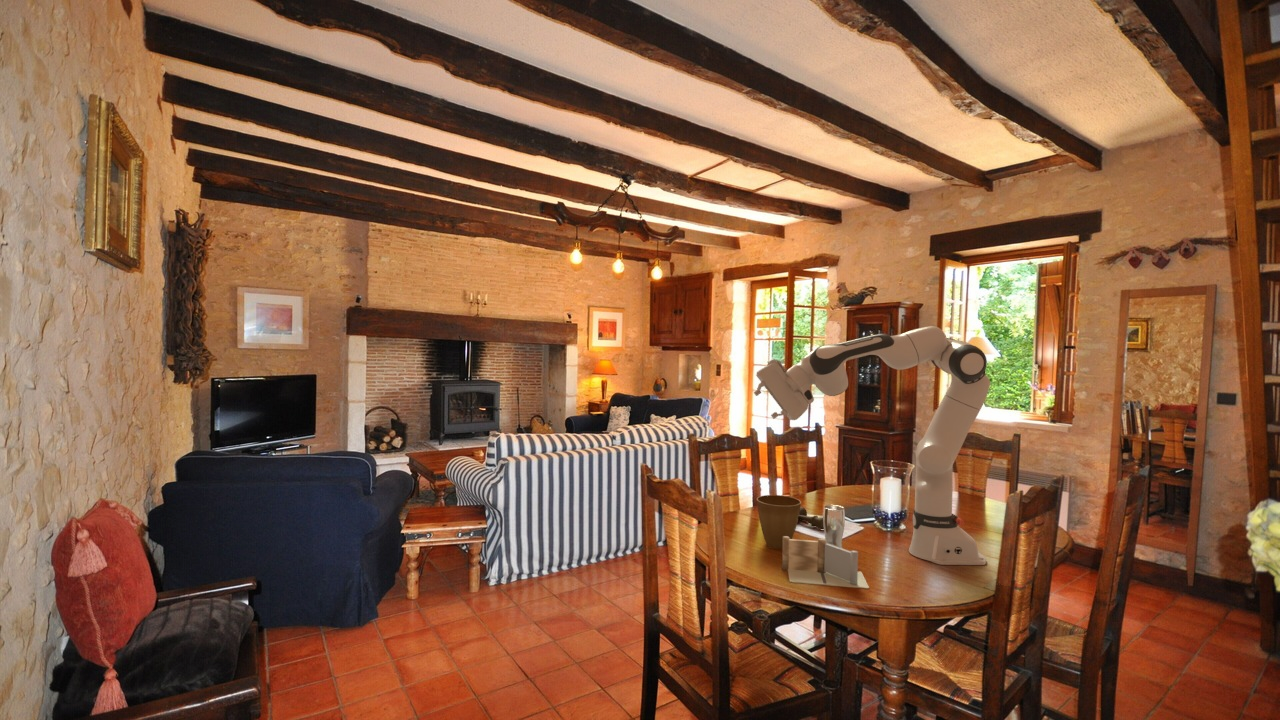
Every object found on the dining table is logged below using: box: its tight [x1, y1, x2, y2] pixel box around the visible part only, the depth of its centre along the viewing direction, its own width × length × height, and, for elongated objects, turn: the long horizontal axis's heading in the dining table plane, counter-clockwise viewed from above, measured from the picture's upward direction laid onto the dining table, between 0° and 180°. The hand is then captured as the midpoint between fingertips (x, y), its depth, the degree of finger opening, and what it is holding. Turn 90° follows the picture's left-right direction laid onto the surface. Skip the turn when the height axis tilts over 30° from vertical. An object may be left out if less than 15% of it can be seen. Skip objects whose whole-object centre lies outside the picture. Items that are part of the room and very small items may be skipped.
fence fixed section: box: [781, 536, 826, 572], centre depth 180 cm, size 13×2×10 cm, turn 79°
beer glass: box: [822, 504, 846, 549], centre depth 196 cm, size 7×7×15 cm
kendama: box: [798, 506, 824, 530], centre depth 226 cm, size 6×10×20 cm
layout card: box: [787, 569, 870, 590], centre depth 175 cm, size 22×12×1 cm, turn 79°
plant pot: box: [756, 494, 802, 550], centre depth 202 cm, size 15×15×16 cm
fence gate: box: [824, 543, 859, 585], centre depth 173 cm, size 11×2×9 cm, turn 34°
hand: (763, 405), depth 194 cm, fingers open, 8 cm apart
